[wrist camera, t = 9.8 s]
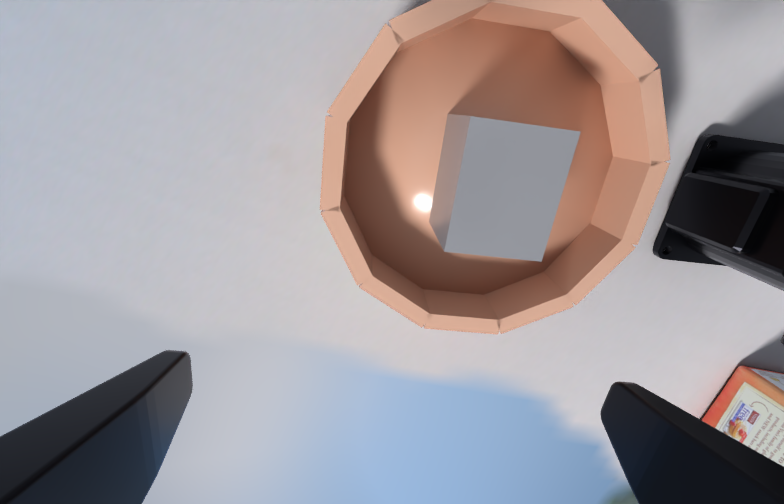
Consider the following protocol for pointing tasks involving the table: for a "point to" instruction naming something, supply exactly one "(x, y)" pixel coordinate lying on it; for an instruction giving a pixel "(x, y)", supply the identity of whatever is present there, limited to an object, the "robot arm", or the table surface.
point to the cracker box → (752, 411)
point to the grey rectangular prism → (499, 186)
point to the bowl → (500, 102)
